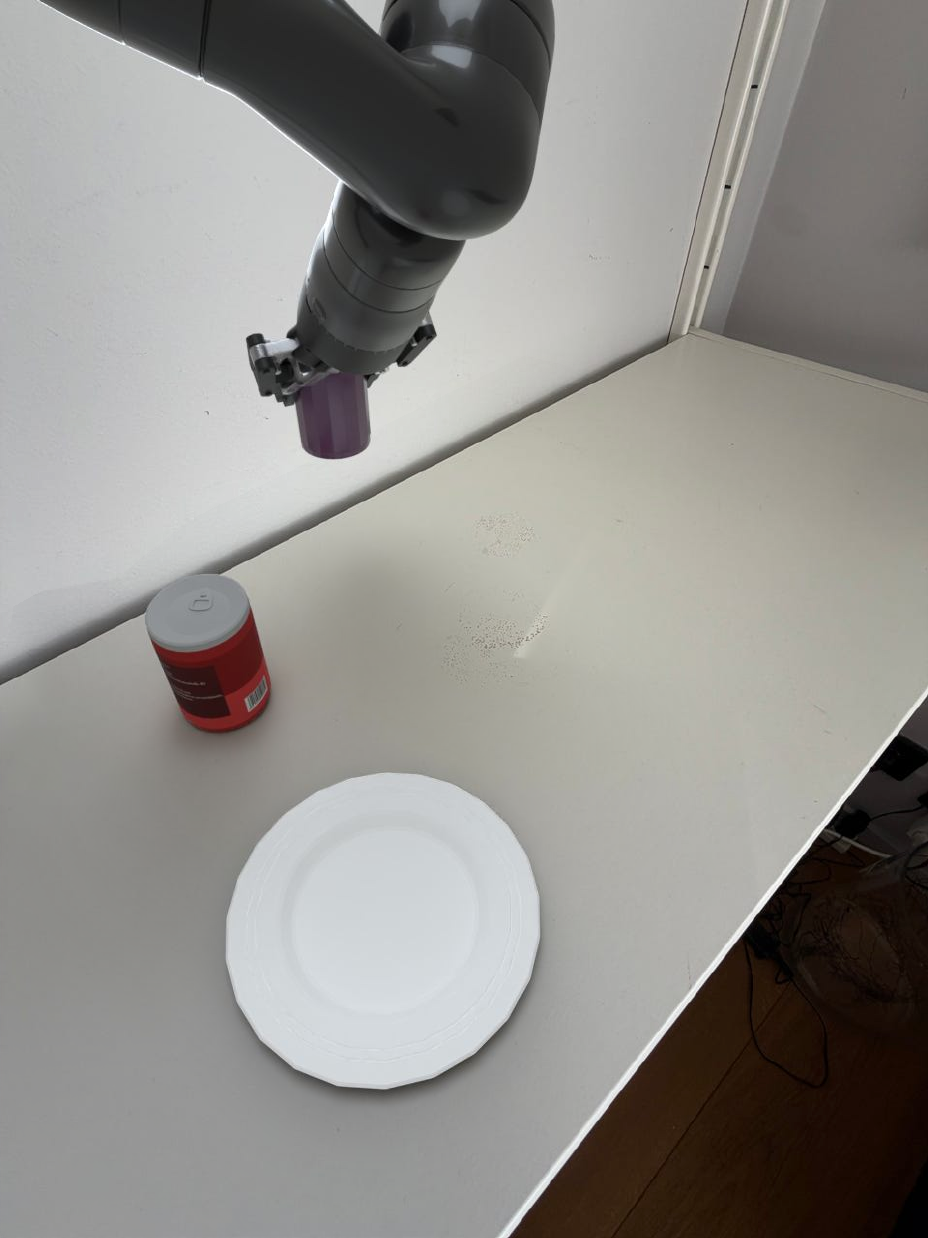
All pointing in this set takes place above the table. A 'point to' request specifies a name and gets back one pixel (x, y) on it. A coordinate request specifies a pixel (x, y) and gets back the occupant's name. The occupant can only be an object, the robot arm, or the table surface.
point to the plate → (382, 930)
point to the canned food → (210, 651)
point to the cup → (334, 416)
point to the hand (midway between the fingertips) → (323, 385)
